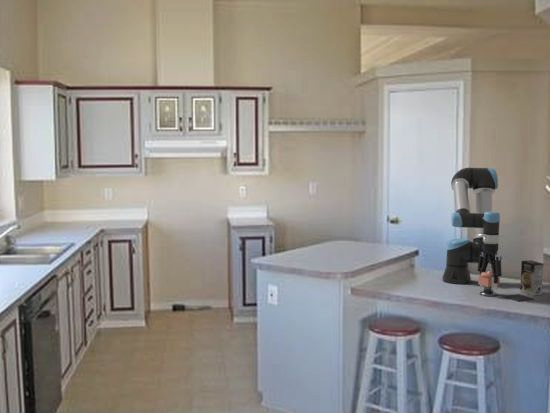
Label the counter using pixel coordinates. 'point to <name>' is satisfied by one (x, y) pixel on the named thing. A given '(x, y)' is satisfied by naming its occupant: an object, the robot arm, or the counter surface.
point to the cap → (485, 281)
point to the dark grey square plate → (518, 297)
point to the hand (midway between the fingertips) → (488, 287)
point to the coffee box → (531, 277)
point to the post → (488, 292)
